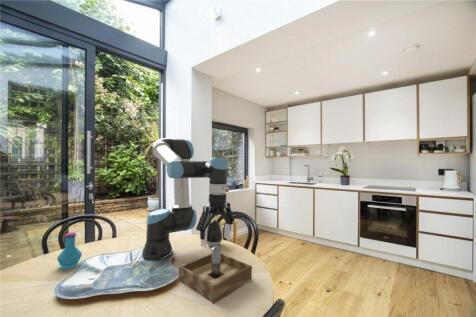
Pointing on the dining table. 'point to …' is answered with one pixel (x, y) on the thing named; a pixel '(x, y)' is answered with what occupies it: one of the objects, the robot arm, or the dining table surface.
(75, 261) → the perfume bottle
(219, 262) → the peg
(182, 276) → the box
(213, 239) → the pump dispenser
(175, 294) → the dining table surface
